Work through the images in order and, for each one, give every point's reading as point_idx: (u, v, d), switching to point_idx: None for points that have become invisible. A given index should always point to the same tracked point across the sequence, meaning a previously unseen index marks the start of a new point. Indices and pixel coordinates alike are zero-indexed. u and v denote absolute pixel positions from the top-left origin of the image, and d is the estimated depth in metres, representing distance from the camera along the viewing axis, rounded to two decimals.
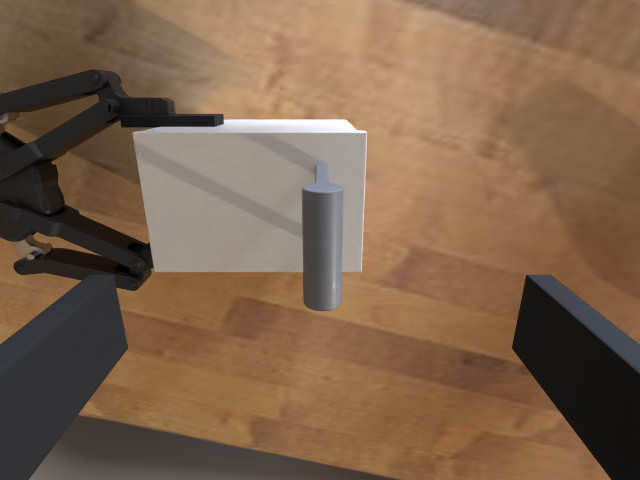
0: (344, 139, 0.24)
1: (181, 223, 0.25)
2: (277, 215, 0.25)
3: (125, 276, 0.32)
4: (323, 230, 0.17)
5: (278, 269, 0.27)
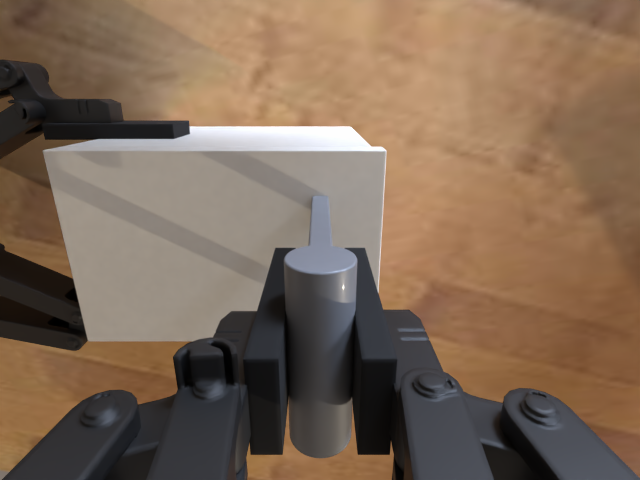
0: (353, 160, 0.16)
1: (122, 277, 0.18)
2: (258, 266, 0.18)
3: (63, 333, 0.24)
4: (322, 336, 0.10)
5: None
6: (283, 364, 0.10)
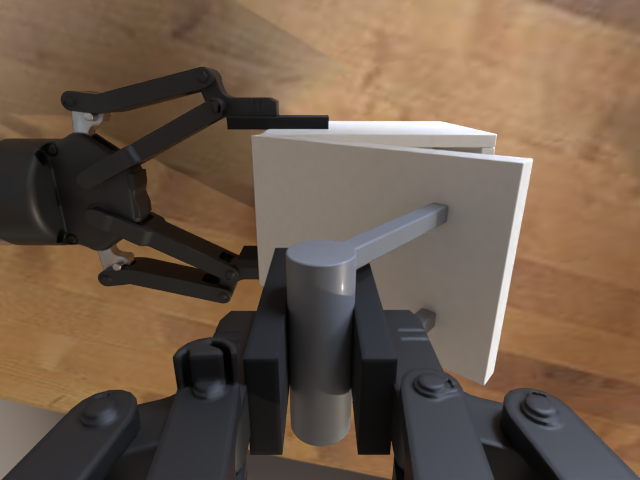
0: (481, 170, 0.14)
1: (282, 242, 0.22)
2: (376, 261, 0.18)
3: (216, 288, 0.30)
4: (299, 322, 0.10)
5: None
6: (283, 364, 0.10)
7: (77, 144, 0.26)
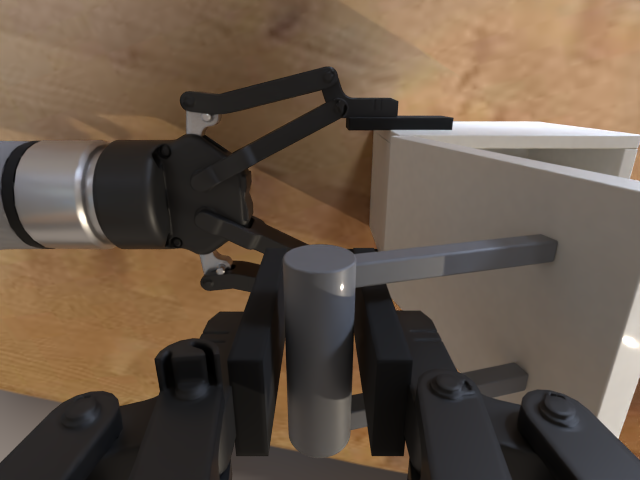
0: (604, 200, 0.10)
1: (402, 248, 0.21)
2: (476, 291, 0.15)
3: None
4: (286, 321, 0.10)
5: (462, 370, 0.17)
6: (269, 365, 0.10)
7: (191, 146, 0.25)
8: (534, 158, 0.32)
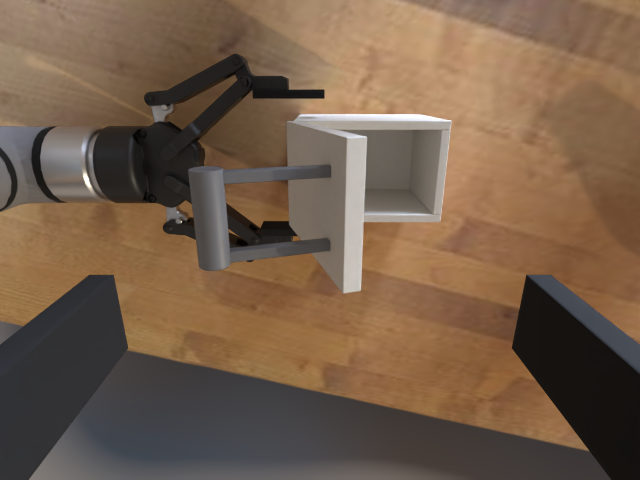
0: (337, 142, 0.22)
1: (294, 193, 0.33)
2: (316, 206, 0.27)
3: None
4: (192, 200, 0.22)
5: (315, 256, 0.29)
6: None
7: (159, 129, 0.37)
8: (415, 141, 0.44)
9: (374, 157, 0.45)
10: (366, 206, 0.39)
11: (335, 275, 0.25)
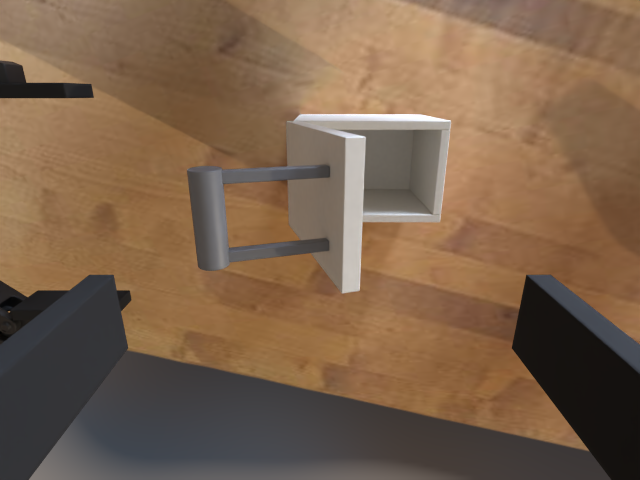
0: (336, 142, 0.22)
1: (293, 193, 0.33)
2: (315, 206, 0.27)
3: None
4: (191, 200, 0.22)
5: (314, 256, 0.29)
6: None
7: None
8: (415, 141, 0.43)
9: (374, 157, 0.45)
10: (366, 206, 0.39)
11: (334, 275, 0.25)
